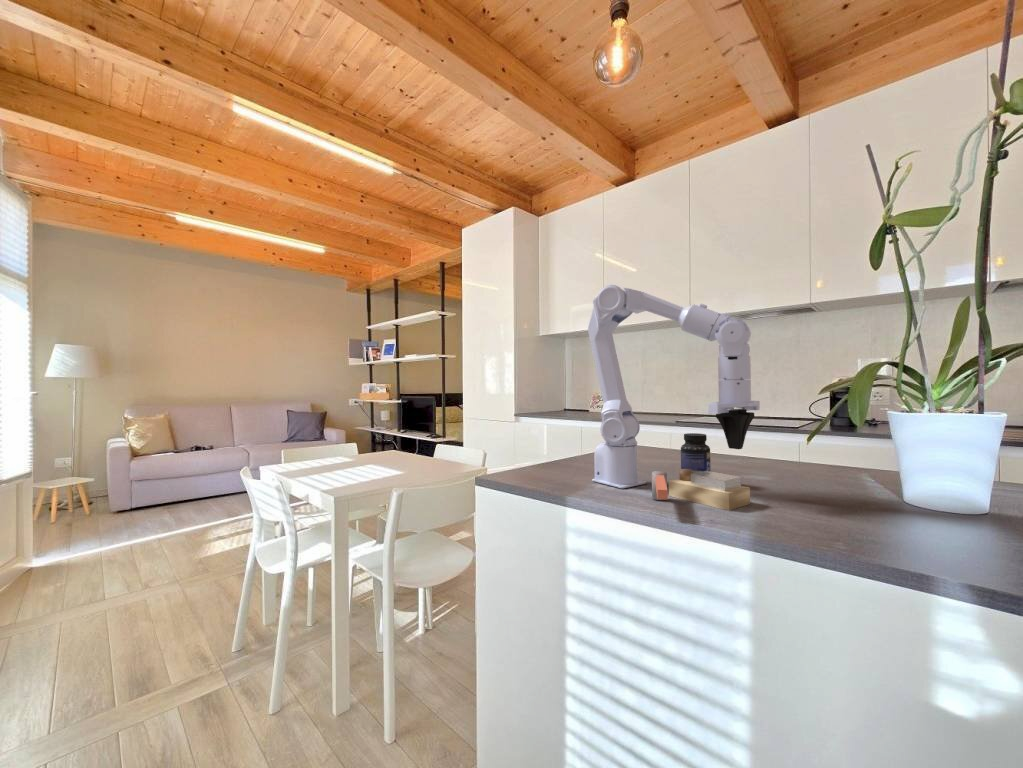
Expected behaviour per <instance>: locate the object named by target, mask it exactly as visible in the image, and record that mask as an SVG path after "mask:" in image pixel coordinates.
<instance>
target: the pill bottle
mask: <svg viewBox="0 0 1023 768" xmlns="http://www.w3.org/2000/svg"><path fill="white" fill-rule="evenodd" d="M683 440H684V444H683V443H682V445H681V446H680V469H691V470H692V474H693V473H698V472H703V471H711V472H712V470H711V448H710V446H709V445H708V444H706V442H707V440H708V438H707V434H706V433H697V432H695V433H693V432H692V433H691V432H690V433H689V432H687V433H683Z"/></svg>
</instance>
